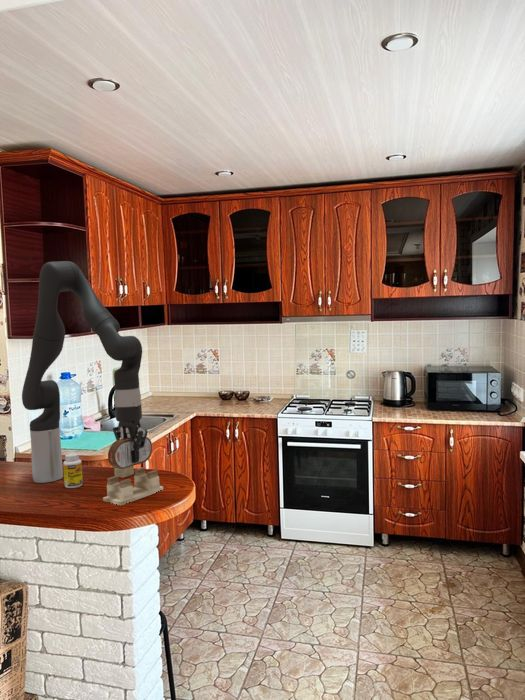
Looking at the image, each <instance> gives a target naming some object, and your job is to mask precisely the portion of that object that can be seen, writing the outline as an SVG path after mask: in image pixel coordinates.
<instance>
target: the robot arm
mask: <svg viewBox="0 0 525 700" xmlns="http://www.w3.org/2000/svg"><path fill="white" fill-rule="evenodd" d="M63 292H64V293H65V292H72V293H73V294H74V295H75V296H77V298H78V300H79V301H80V304H81V308H82V315H83V317H84V320H85V321H86V323H87V324H88V326H89V327H90V329H92V331H93V332H94V333H95V334H96V335H97V336H98V338H99V340H100V342H101V345H102V347H103V350H104V351H105V352H106V354H107V356H108V357H110V358H111V359H112V360H114V361H118V362H121V366H120V367H119V368H118V369H117V370H115V371H114V376H113V378H114V406H115V407H114V409H115V420H116V421H117V422H118V425H117V426H115V427H112V431H113V435H114V437H115V441H117V440H119V439H123V438H128V440H129V443H130V446H131V450H132V451H131V462H132V463H136V462H139V449H140V448H143V447H144V444H145V440H146V437H148V429H143V428H142V425H141V422H140V421H141V419H142V418H143V410H142V408H143V407H142V395H141V389H140V377H139V373H140V369H141V363H142V357H143V346H142V343H141V341H140V340H139V338H138V337H136V336H134V335H123V336H121V335H120V333H119V332H120V328H121V326H120V323H119V322H118V320H117V319H116V318H115V317H114V316H113V315H112V314H111V312H110V311H109V310H108V309H107V308H106V307H105V305H104V304H103V302H102V301H101V300H100V299H99V297H98V296H97V293H95V291H94V289H93V288H92V286H91V284H90V283H89V281H88V279H87V278H86V276H85V274H84V273H83V271H82V270H81V268H80V267H79V266H78V265H77V264H76V263H75V262H73V261H71V260H70V261H68V260H64V261H63V260H62V261H61V260H59V261H47V262H45V263H44V264H43V265H42V267H41V269H40V272H39V278H38V297H37V299H38V300H37V309H36V310H37V311H36V317H35V325H34V330H33V335H32V341H31V351H30V357H29V363H28V368H27V372H26V375H25V379H24V381H23V386H22V392H21V402H22V406H23V407H24V409H26V410H28V411H36V410H37V411H38V410H42V409H43V412H42V413H41V414H40V415H38V416H37V417H35V418H34V419H32V420H31V421H30V422H29V434H30V435H29V437H30V449H31V452H30V457H31V458H30V459H31V470H32V480H33V482H34V483H38V484H42V483H43V484H44V483H50V482H55V481H58V480H61V479H63V478H64V469H63V459H62V457H63V456H62V443H61V428H60V421H61V394H60V387H59V385H58V383H57V382H56V381H55V380H52V379H48V380H43V377H44V375H45V373H46V372H47V370H48V369H49V368H50V367H51V365H52V364H53V363H54V362H55V361H56V360H57V359H58V357H59V356H60V354H61V353H62V351H63V347H64V342H65V336H66V328H65V325H64V322H63V321H62V318H61V315H60V314H59V311H58V303H59V302H58V300H59V299H58V298H59V295H60V293H63ZM133 438H136V439H133ZM134 442H136V443H135V446H134ZM140 442H141V443H140Z"/></svg>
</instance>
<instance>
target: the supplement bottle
mask: <svg viewBox="0 0 525 700" xmlns="http://www.w3.org/2000/svg"><path fill="white" fill-rule="evenodd" d="M64 457H65V460H64V461H62V470H63V480H64V481H63V482H64V487H65V488H66V489H76V488H79V487H81V486H82V485H83V484H84V481H83V479H84V478H83V464H82V463H83V462H82V460H81V458H80V457H79V453H76V452H73V453H72V452H71V453H68V454H65V456H64Z"/></svg>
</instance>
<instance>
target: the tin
mask: <svg viewBox="0 0 525 700" xmlns="http://www.w3.org/2000/svg"><path fill="white" fill-rule="evenodd" d="M133 439H136V438H133ZM135 443H136V442H134V446H135ZM140 443H141V442H140ZM131 451H132V450H131V446H130V443H129V440H128V438H123V439H121V438H120V439H119V440H115V441H114V442H113V443H112V444H111V445H110V447H109V449H108V453H107V459H108V463H109V464H110V466H111V467H112V468H119V469H125V468H128V467H131V466H137V465H140V464H144V463H146V462H148V460H149V459H150V457H151V455H152V452H153V444H152V440H151V439H150V438H149V437H148V436H146V440H145V444H144V447H143V448H140V449H139V462H136V463H132V462H131Z"/></svg>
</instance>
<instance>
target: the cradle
mask: <svg viewBox="0 0 525 700" xmlns="http://www.w3.org/2000/svg"><path fill="white" fill-rule="evenodd" d="M158 472H159V471H158V470H157V469H156V470H155V469H153V470H151V471H148V472H146V468H145V467H139V468H136V469H134V474H133V475H134V476H133V482H134V483H133V484H134V486H133V485H132V479H131V478H125V479H123V480H121V481H120V480H119V477H118V476H115V475H114V476H110V477H108V478H106V480H107V484H106V494H107V495H106V496H104V497H102V501H103V502H106V503H109V502H110V503H109V504H112V503H113V504H112V505H116V504H117V505H116V506H119V505H120V507H121V505H122V506H124V505H127V504H129V502H130V503H132V502H134V501H137V500H140V499H143V498H145V497H148V496H151V495H154V494H156V492H157V493H159V492H161V491H160V490H162V491H164V490H163V489H165V488H164V486H163V485H161V484H160V476H159V473H158ZM158 491H159V492H158ZM126 503H127V504H126Z"/></svg>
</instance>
